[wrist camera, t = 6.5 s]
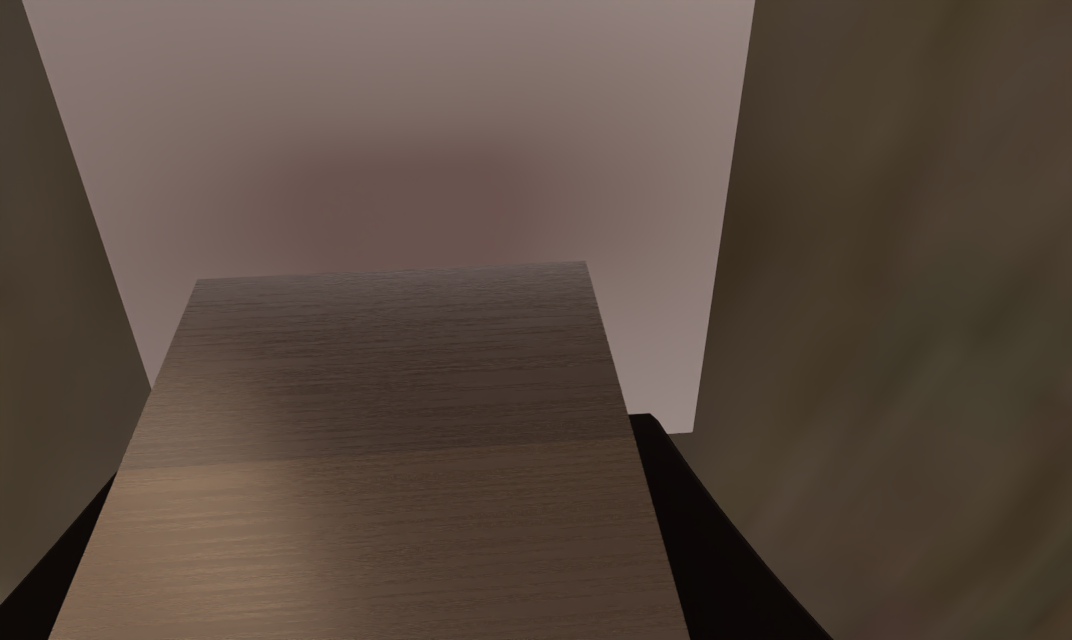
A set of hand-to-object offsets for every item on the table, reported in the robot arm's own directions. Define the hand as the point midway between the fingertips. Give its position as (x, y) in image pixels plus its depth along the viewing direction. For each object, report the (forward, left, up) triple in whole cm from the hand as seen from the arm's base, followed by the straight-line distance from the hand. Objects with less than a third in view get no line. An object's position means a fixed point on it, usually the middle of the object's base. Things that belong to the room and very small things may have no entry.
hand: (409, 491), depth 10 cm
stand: (0, 0, -8) cm, 8 cm away
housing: (0, 0, -1) cm, 1 cm away
